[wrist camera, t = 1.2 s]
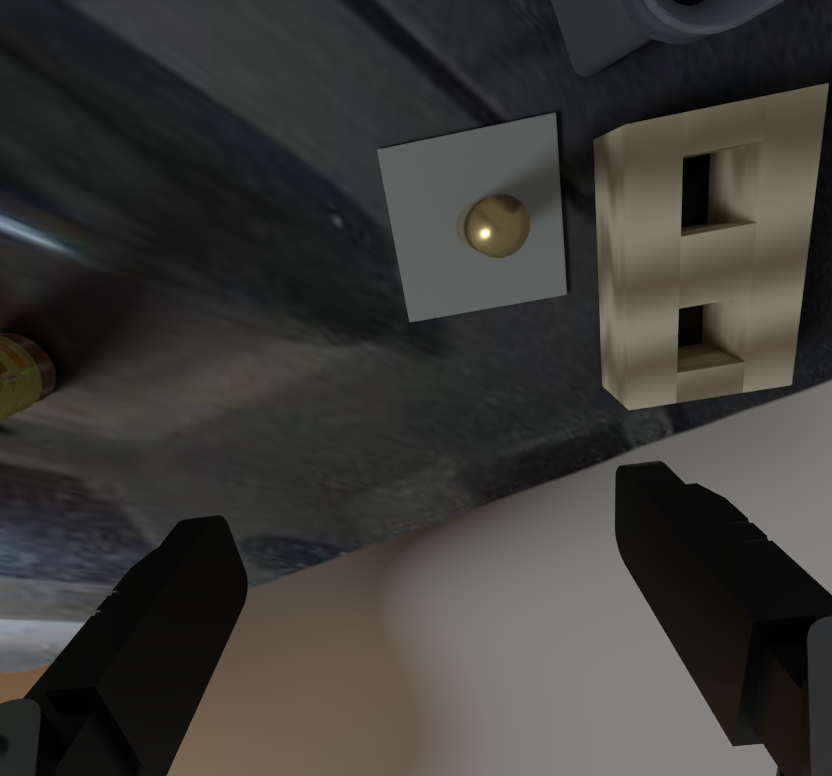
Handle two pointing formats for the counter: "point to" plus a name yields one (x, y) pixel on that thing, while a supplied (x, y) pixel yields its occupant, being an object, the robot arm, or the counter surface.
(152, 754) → the robot arm
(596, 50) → the storage bin
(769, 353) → the hole block
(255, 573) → the counter surface
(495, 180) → the mat
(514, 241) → the peg
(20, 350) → the sauce bottle
